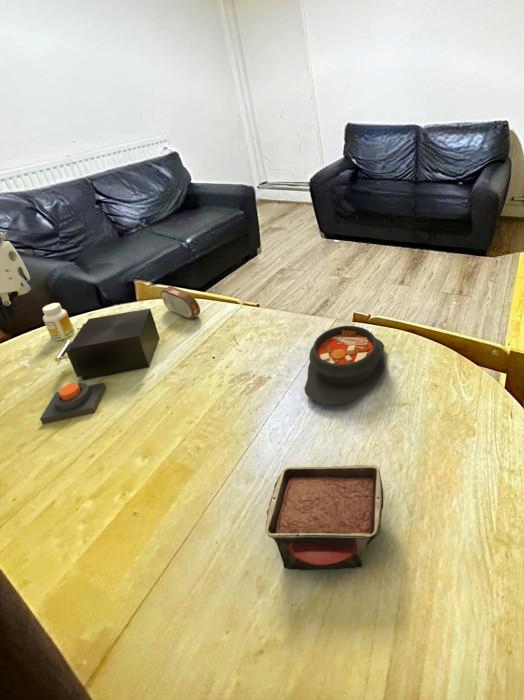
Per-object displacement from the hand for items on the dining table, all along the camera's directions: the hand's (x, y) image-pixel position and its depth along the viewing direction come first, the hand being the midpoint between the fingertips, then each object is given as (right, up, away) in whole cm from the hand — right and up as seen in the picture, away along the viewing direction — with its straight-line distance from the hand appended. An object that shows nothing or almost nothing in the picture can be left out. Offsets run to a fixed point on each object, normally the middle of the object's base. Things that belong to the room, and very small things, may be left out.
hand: (11, 318), depth 88 cm
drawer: (+8, -14, +18) cm, 24 cm away
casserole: (+71, -15, +12) cm, 74 cm away
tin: (+19, -6, +38) cm, 42 cm away
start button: (+10, -18, +4) cm, 21 cm away
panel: (+10, -21, +5) cm, 23 cm away
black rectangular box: (+12, -14, +20) cm, 27 cm away
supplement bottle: (-12, -11, +30) cm, 34 cm away
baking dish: (+71, -30, -21) cm, 80 cm away
